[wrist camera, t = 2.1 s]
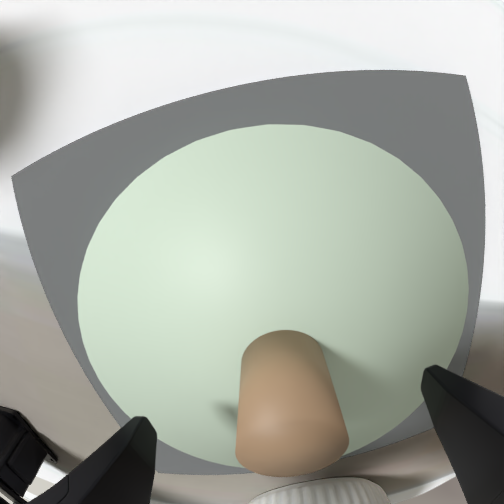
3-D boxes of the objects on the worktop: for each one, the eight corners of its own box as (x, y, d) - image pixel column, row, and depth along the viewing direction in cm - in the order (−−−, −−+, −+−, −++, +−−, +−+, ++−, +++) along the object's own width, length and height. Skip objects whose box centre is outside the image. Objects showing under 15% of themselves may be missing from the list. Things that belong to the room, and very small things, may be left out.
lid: (170, 463, 14) (155, 525, 9) (39, 199, 9) (-51, 228, 4) (432, 416, 12) (463, 473, 8) (447, 109, 8) (541, 96, 3)
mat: (159, 468, 15) (158, 472, 14) (17, 175, 9) (11, 176, 9) (444, 417, 13) (446, 421, 13) (460, 77, 8) (465, 75, 7)
